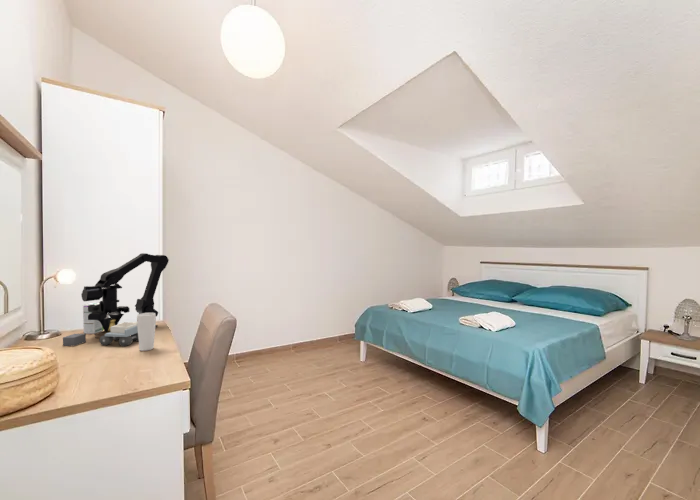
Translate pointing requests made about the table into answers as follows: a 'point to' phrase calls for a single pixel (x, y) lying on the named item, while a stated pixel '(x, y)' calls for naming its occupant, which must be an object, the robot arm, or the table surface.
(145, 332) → the drinking glass
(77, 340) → the block
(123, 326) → the tray
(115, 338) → the trolley
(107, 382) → the table surface
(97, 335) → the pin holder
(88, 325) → the syrup box
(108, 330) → the stop pin
